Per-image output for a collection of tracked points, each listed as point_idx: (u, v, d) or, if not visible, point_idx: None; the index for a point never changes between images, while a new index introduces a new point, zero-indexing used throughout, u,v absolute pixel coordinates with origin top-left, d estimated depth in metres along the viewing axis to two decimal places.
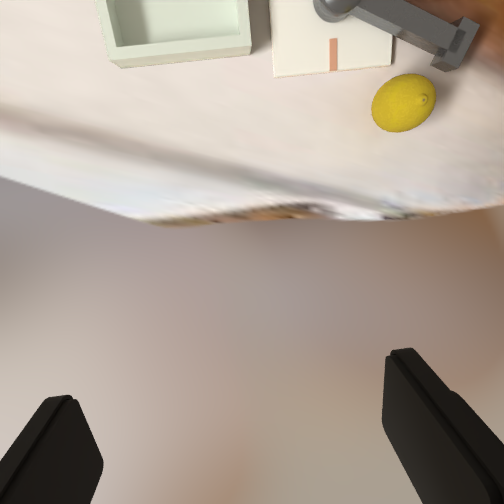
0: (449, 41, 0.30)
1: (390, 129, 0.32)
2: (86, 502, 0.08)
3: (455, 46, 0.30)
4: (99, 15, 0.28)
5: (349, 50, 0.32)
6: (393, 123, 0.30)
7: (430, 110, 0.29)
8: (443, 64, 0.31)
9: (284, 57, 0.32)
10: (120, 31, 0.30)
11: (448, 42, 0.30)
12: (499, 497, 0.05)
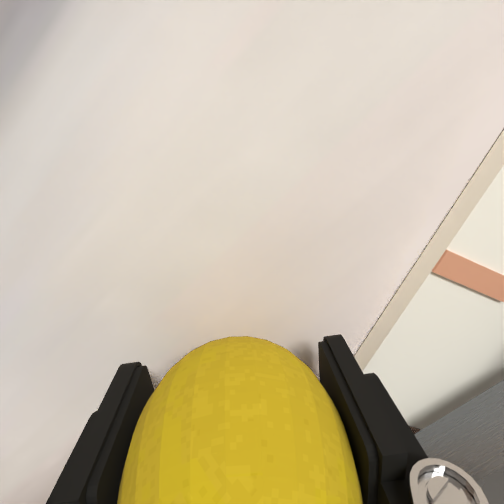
0: None
1: (160, 424, 0.06)
2: None
3: None
4: None
5: (448, 322, 0.10)
6: (181, 485, 0.05)
7: None
8: None
9: None
10: None
11: None
12: (375, 454, 0.06)
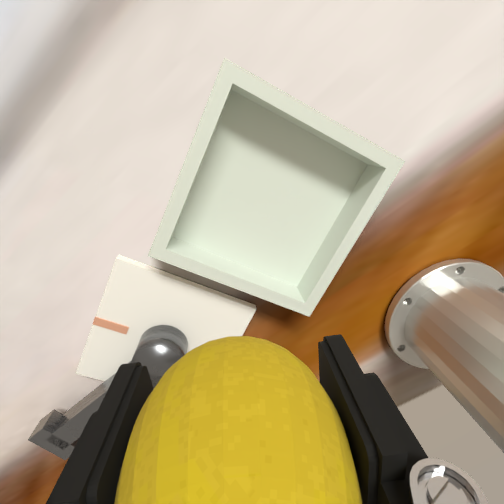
0: (59, 436, 0.27)
1: (158, 425, 0.06)
2: None
3: (52, 440, 0.27)
4: (276, 89, 0.19)
5: (108, 341, 0.27)
6: (178, 487, 0.05)
7: None
8: (41, 425, 0.27)
9: (132, 277, 0.25)
10: (257, 103, 0.21)
11: (59, 435, 0.27)
12: (375, 454, 0.06)
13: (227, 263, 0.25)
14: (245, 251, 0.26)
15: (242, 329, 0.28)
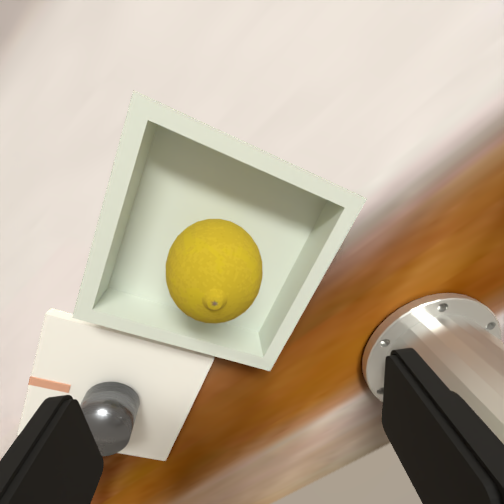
0: None
1: (182, 236, 0.16)
2: (86, 502, 0.08)
3: None
4: (202, 125, 0.15)
5: None
6: (192, 243, 0.15)
7: (186, 309, 0.15)
8: None
9: (67, 333, 0.22)
10: None
11: None
12: (499, 497, 0.05)
13: (173, 314, 0.22)
14: None
15: (200, 380, 0.25)
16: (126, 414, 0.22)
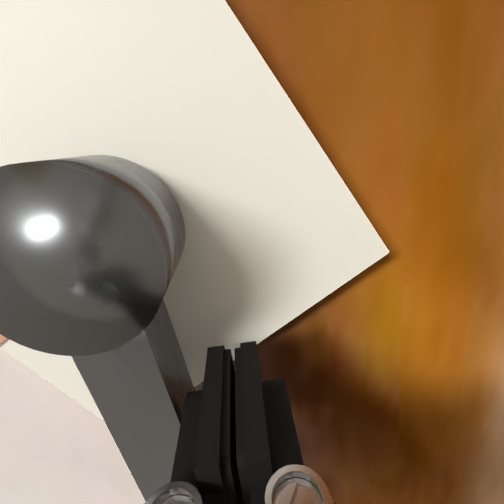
0: None
1: None
2: None
3: None
4: None
5: None
6: None
7: None
8: None
9: None
10: None
11: None
12: (244, 461, 0.06)
13: None
14: None
15: None
16: (57, 159, 0.06)
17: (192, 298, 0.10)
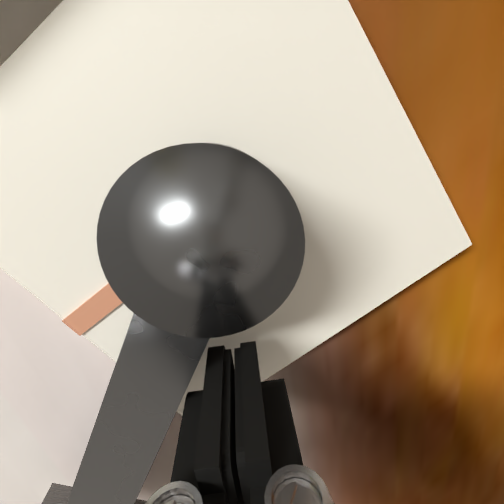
0: None
1: None
2: None
3: None
4: None
5: None
6: None
7: None
8: None
9: None
10: None
11: None
12: (243, 461, 0.06)
13: None
14: None
15: None
16: None
17: None
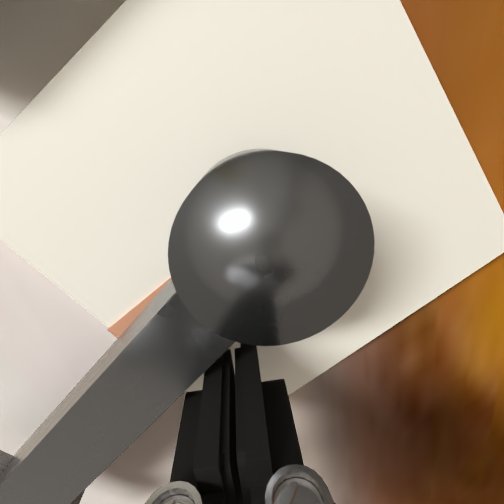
0: None
1: None
2: None
3: None
4: None
5: None
6: None
7: None
8: None
9: (19, 188, 0.09)
10: None
11: None
12: (244, 460, 0.06)
13: None
14: None
15: None
16: None
17: None
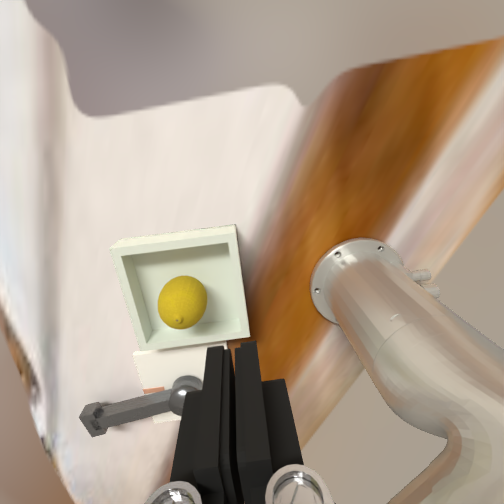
0: (99, 422, 0.41)
1: (159, 295, 0.33)
2: None
3: (93, 422, 0.41)
4: (142, 245, 0.33)
5: None
6: (161, 298, 0.32)
7: (172, 327, 0.32)
8: (90, 411, 0.41)
9: (147, 360, 0.41)
10: None
11: (99, 421, 0.41)
12: (244, 461, 0.06)
13: (188, 329, 0.39)
14: None
15: None
16: None
17: None
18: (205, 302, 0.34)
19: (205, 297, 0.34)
